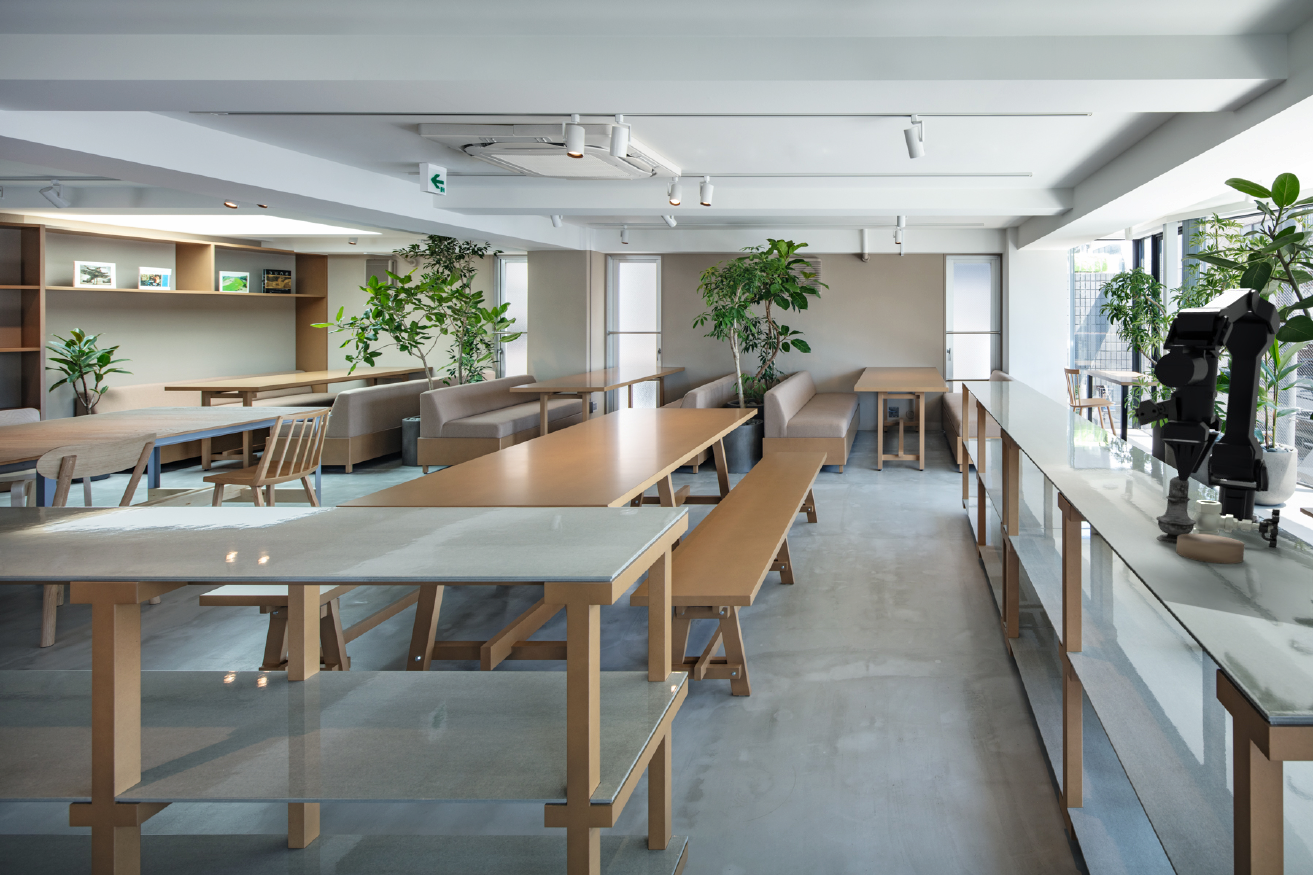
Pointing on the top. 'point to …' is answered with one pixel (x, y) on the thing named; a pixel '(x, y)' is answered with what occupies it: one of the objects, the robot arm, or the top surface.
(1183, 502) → the salt shaker
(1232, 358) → the robot arm
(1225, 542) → the tan round disc
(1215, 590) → the top surface
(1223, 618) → the top surface
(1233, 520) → the valve
